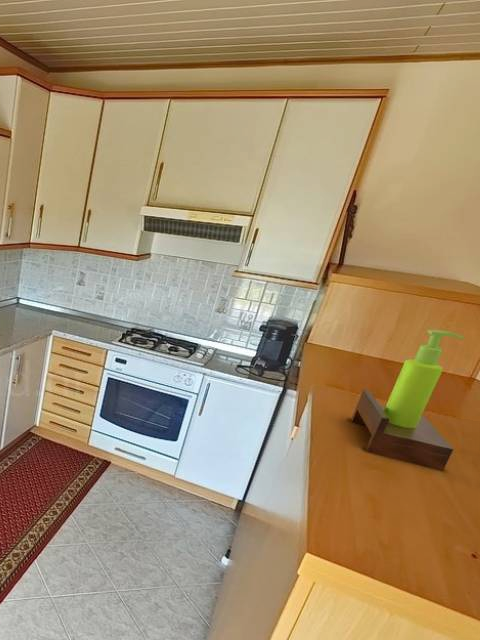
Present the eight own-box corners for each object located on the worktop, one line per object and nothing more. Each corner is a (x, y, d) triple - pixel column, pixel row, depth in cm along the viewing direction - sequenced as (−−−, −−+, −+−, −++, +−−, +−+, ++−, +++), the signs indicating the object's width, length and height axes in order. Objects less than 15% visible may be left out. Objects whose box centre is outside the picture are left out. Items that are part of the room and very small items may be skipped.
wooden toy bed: (413, 435, 111) (429, 403, 108) (442, 472, 94) (461, 435, 91) (350, 420, 116) (363, 389, 113) (366, 452, 99) (382, 417, 96)
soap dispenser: (427, 431, 100) (472, 337, 93) (387, 424, 102) (428, 331, 95) (414, 421, 105) (455, 331, 98) (376, 414, 107) (414, 325, 100)
